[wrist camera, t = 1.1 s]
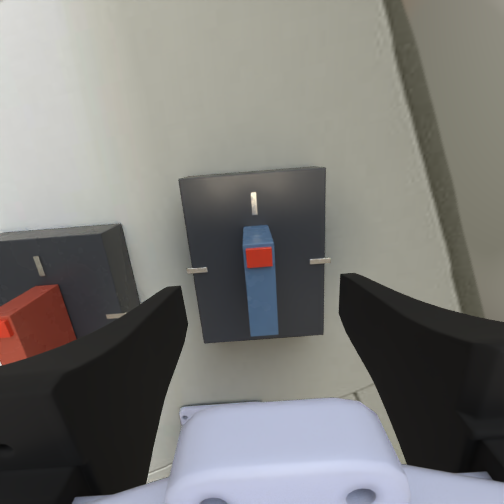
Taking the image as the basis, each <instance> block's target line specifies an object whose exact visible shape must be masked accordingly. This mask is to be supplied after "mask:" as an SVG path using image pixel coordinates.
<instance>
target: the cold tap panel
mask: <svg viewBox="0 0 504 504" xmlns="http://www.w3.org/2000/svg"><path fill="white" fill-rule="evenodd" d="M325 185H326V168H325V167H302V168H289V169H276V170H264V171H251V172H238V173H225V174H212V175H200V176H188V177H184V178H180V179H179V186H180V193H181V199H182V205H183V212H184V218H185V225H186V231H187V237H188V244H189V250H190V256H191V263H192V268H187V274H190V273H193V276H194V282H195V288H196V295H197V301H198V307H199V314H200V320H201V327H202V333H203V339H204V343H217V342H231V341H244V340H258V339H271V338H284V337H298V336H311V335H323V334H324V263H331V258H330V257H326V258H325ZM259 225H268V227H269V230H270V233H271V236H272V238H273V241H274V252H275V272H276V292H277V312H278V332H279V334H278V335H267V336H254V337H251V336H250V325H249V313H248V302H247V291H246V280H245V269H244V258H243V247H242V244H243V227H246V226H259Z"/></svg>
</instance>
